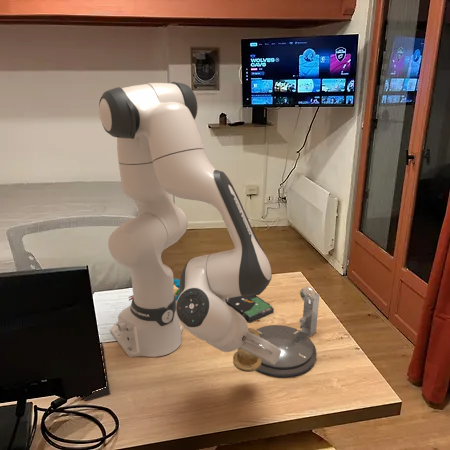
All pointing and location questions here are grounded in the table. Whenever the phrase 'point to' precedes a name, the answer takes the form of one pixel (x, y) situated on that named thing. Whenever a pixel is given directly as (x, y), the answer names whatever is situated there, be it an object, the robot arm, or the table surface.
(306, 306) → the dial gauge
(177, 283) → the gear
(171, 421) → the table surface
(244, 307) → the disk drive
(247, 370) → the brass hub
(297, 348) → the turntable platter
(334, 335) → the table surface
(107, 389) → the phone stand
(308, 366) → the turntable base
